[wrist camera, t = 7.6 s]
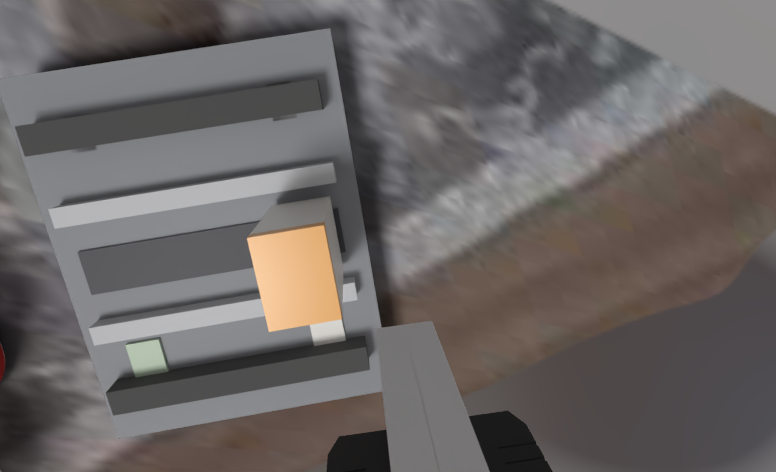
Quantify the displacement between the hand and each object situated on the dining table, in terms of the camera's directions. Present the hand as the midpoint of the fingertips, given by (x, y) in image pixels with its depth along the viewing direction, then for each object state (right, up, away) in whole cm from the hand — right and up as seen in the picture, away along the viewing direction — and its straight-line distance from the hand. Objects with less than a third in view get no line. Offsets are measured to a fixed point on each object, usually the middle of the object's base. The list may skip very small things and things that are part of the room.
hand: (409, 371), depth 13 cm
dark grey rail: (-9, -3, +18) cm, 20 cm away
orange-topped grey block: (-5, +4, +13) cm, 14 cm away
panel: (-10, +4, +16) cm, 19 cm away
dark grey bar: (-11, +10, +14) cm, 21 cm away
